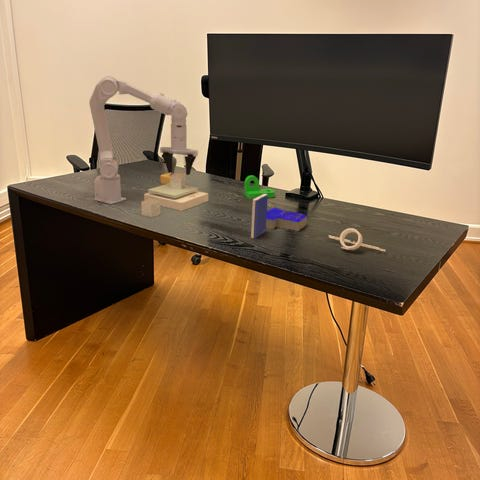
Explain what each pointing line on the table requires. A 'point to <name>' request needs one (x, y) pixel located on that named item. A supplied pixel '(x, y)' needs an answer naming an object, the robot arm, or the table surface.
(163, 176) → the rubber stamp
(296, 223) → the blue beige flat block
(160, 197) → the scale housing
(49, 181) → the table surface
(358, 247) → the beige ring with bar
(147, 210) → the tan brown block
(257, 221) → the hard drive
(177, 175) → the tan brown block
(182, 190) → the pan
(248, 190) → the mechanical part
